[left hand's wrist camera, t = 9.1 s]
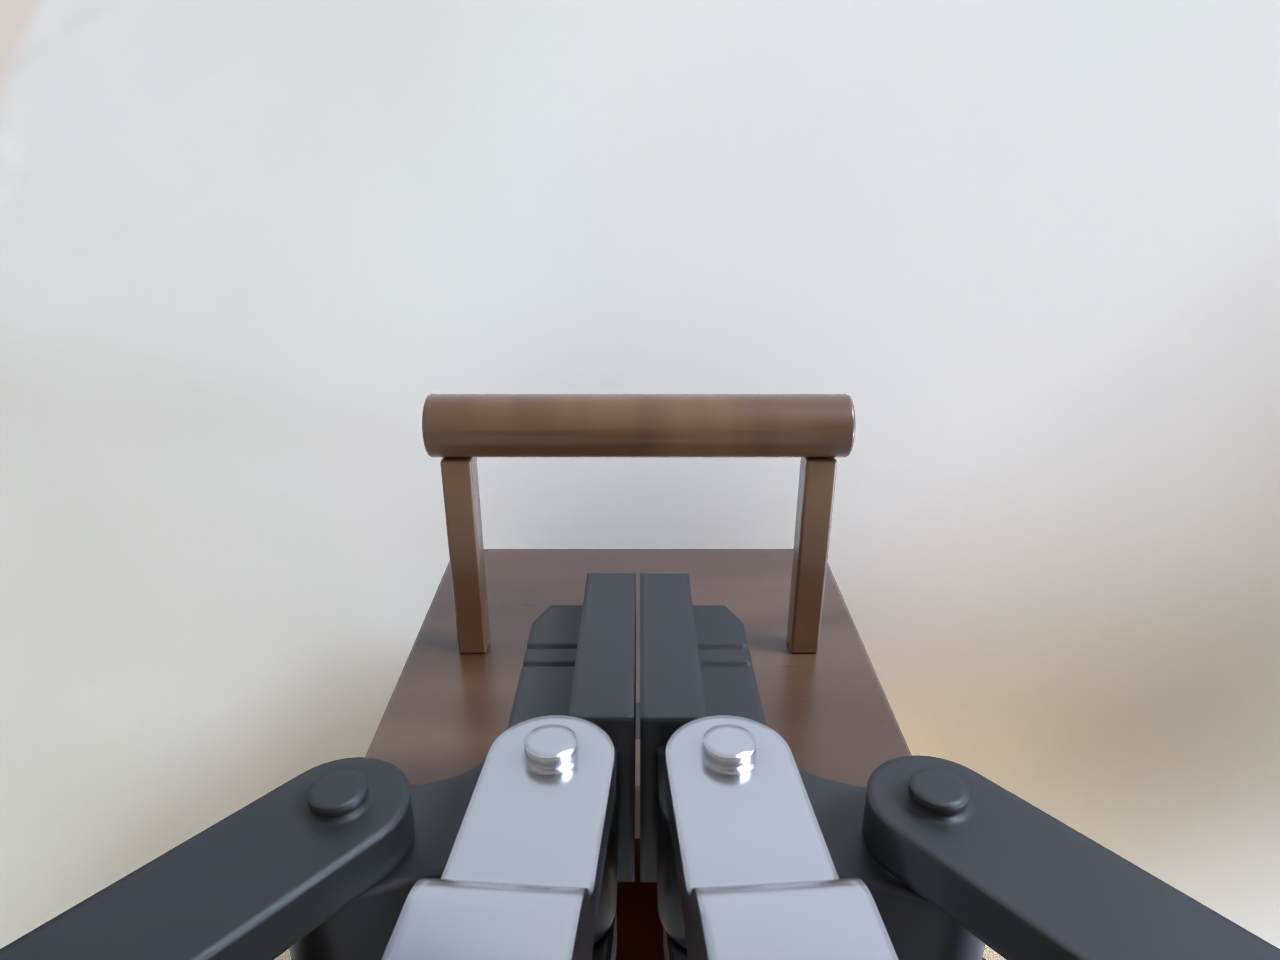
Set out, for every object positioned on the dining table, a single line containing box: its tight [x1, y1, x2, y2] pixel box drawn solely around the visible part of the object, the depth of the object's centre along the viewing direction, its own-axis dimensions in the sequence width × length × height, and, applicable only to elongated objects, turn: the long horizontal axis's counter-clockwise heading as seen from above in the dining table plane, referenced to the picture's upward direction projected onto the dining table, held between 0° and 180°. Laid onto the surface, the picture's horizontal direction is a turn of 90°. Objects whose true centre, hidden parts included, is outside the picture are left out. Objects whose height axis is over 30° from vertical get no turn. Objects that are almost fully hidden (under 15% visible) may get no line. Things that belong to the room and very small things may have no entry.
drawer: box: [365, 394, 912, 960], centre depth 21 cm, size 24×10×9 cm, turn 0°
